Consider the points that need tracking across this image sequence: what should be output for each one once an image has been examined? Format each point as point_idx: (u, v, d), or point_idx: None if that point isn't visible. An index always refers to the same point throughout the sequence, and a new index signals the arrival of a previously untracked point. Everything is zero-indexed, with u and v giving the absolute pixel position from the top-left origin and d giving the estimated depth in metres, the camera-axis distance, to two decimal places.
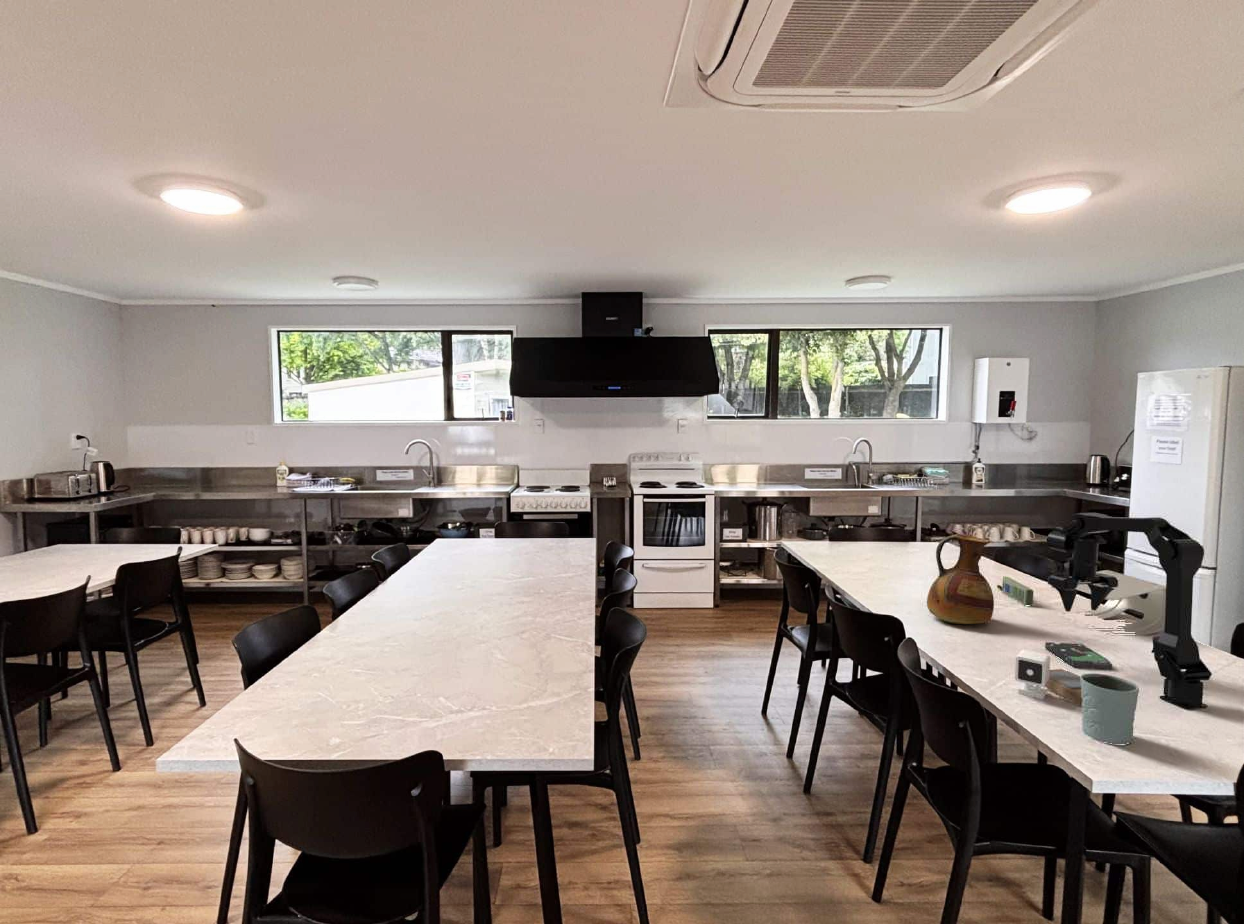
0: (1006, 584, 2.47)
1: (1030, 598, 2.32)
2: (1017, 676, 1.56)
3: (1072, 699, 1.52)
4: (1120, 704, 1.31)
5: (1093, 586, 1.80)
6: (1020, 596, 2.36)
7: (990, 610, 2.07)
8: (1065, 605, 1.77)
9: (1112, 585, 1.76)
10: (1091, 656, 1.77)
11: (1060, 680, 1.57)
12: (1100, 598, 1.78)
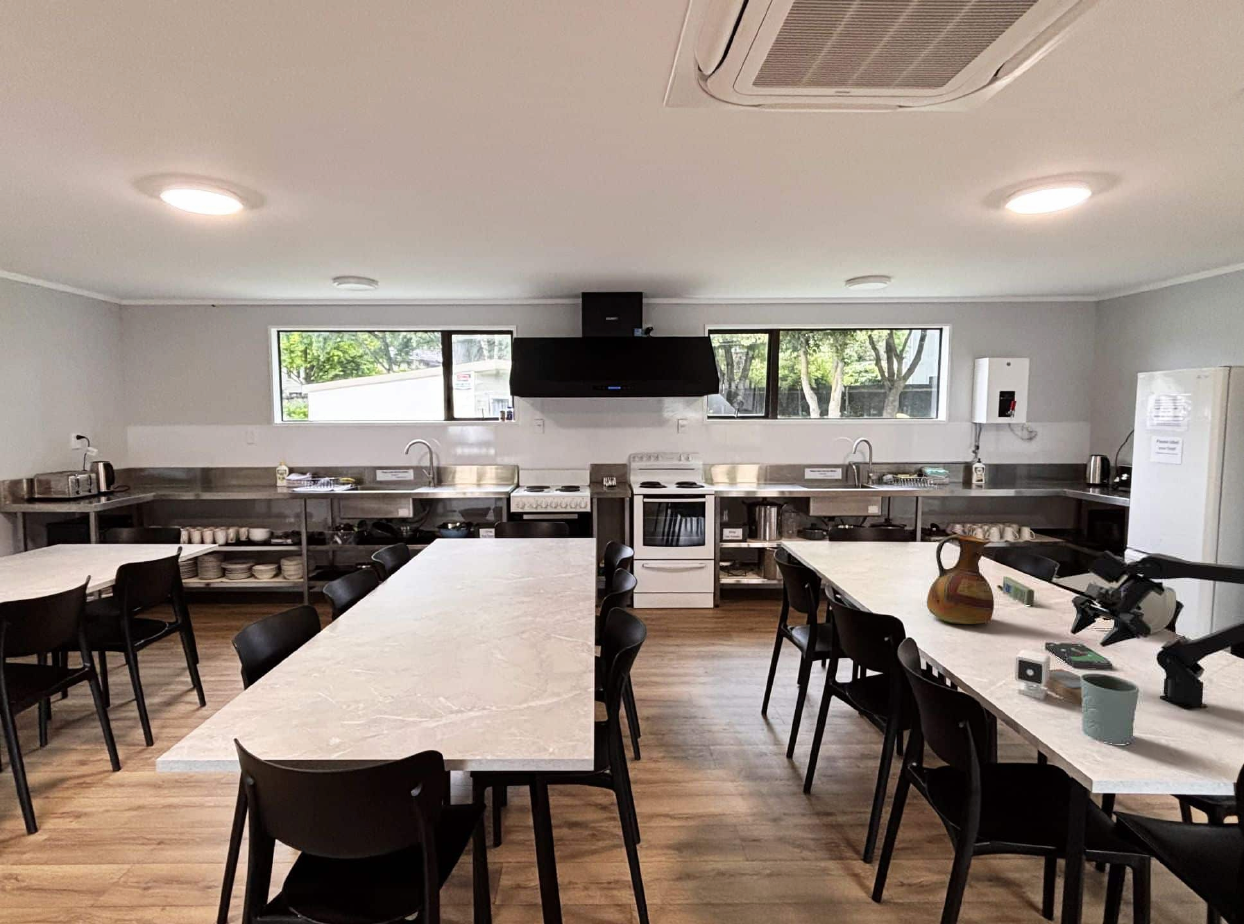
0: (1007, 584, 2.47)
1: (1031, 598, 2.32)
2: (1017, 676, 1.56)
3: (1072, 699, 1.52)
4: (1120, 704, 1.31)
5: (1085, 612, 1.63)
6: (1021, 596, 2.36)
7: (990, 610, 2.07)
8: (1108, 641, 1.53)
9: None
10: (1091, 656, 1.77)
11: (1060, 680, 1.57)
12: (1085, 626, 1.63)
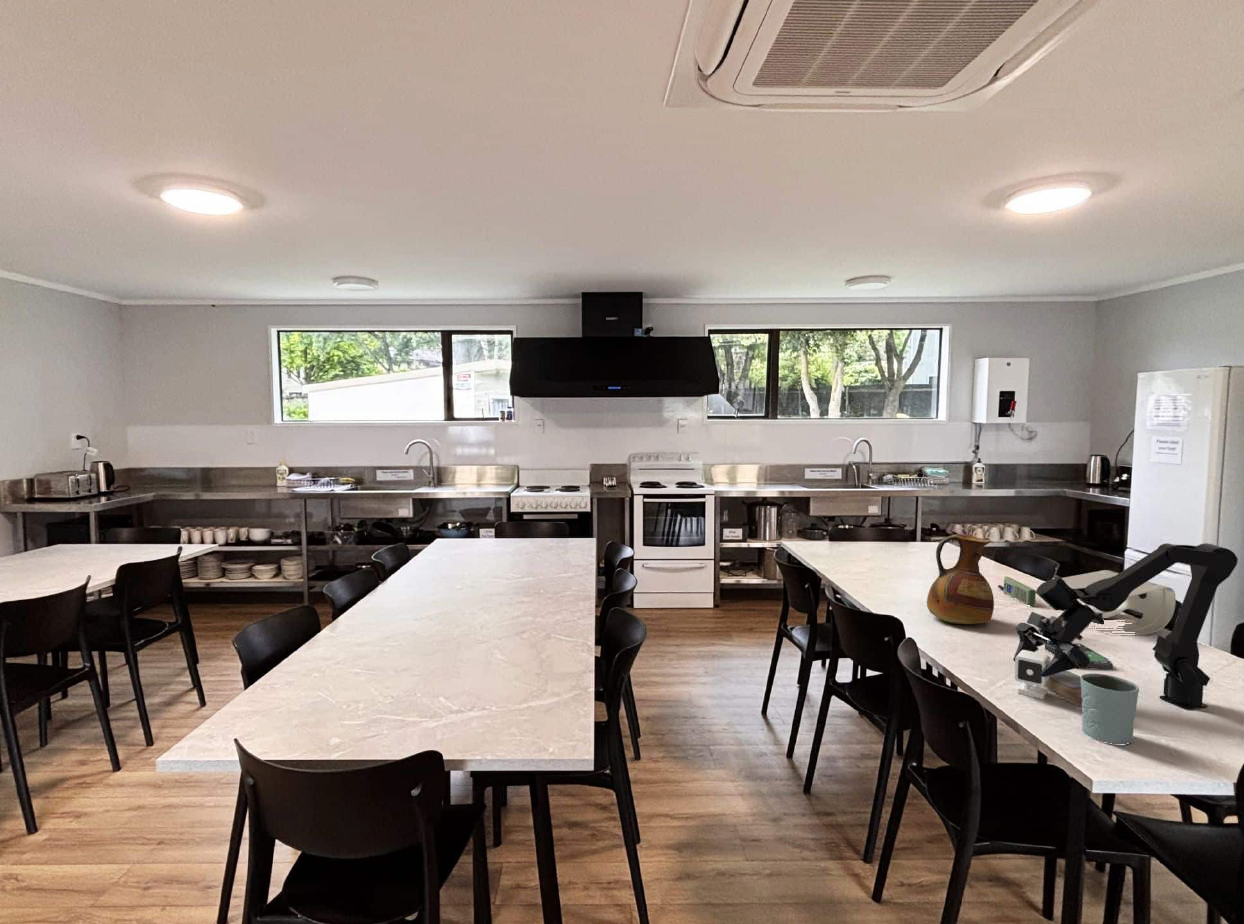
0: (1008, 584, 2.46)
1: (1033, 598, 2.32)
2: (1017, 676, 1.56)
3: (1072, 699, 1.52)
4: (1120, 704, 1.31)
5: (1028, 639, 1.62)
6: (1023, 596, 2.36)
7: (990, 610, 2.07)
8: (1048, 671, 1.52)
9: None
10: (1091, 656, 1.77)
11: (1060, 680, 1.57)
12: None
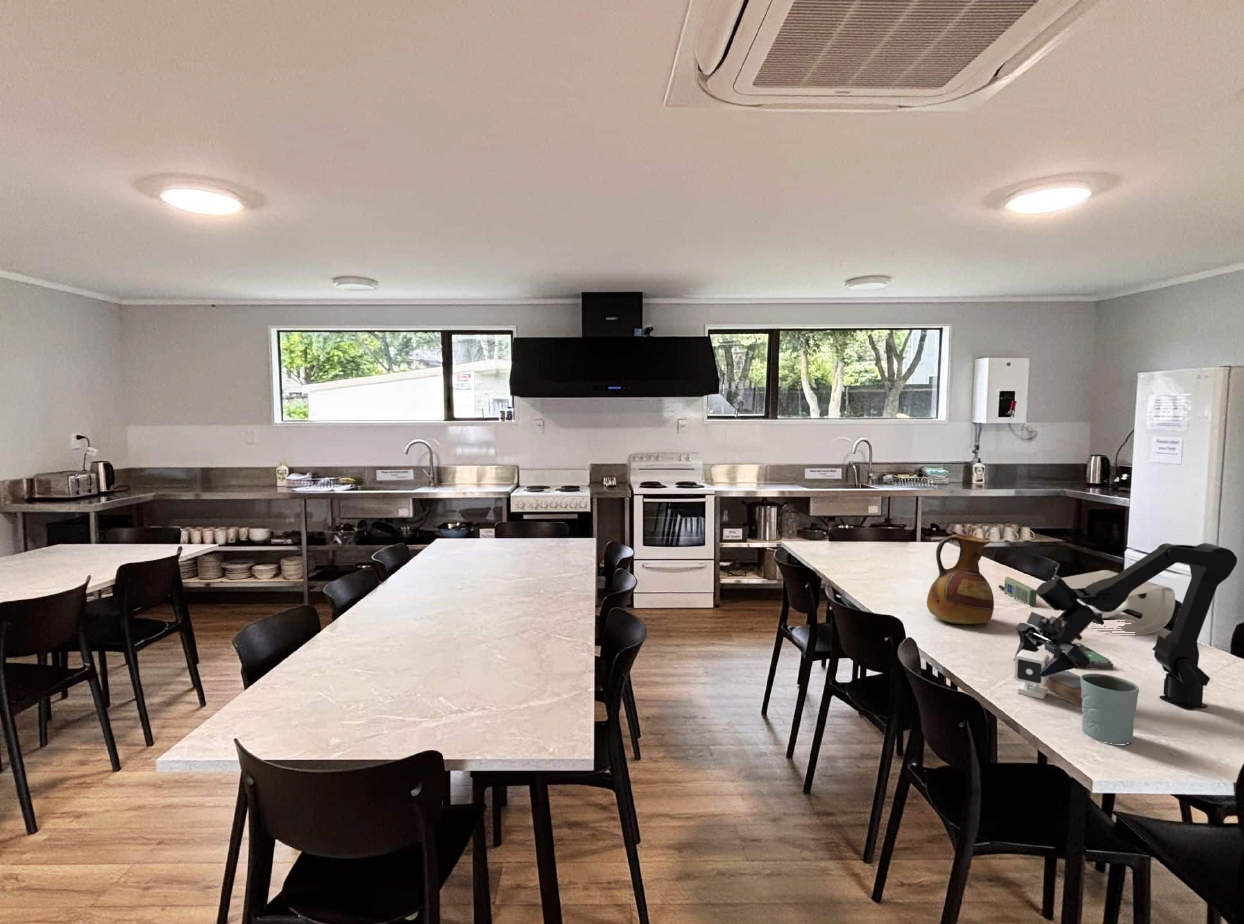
0: (1008, 584, 2.46)
1: (1034, 598, 2.32)
2: (1016, 676, 1.56)
3: (1072, 699, 1.52)
4: (1120, 704, 1.31)
5: (1029, 640, 1.62)
6: (1024, 596, 2.35)
7: (990, 610, 2.07)
8: (1047, 671, 1.52)
9: None
10: (1092, 656, 1.77)
11: (1060, 680, 1.57)
12: None
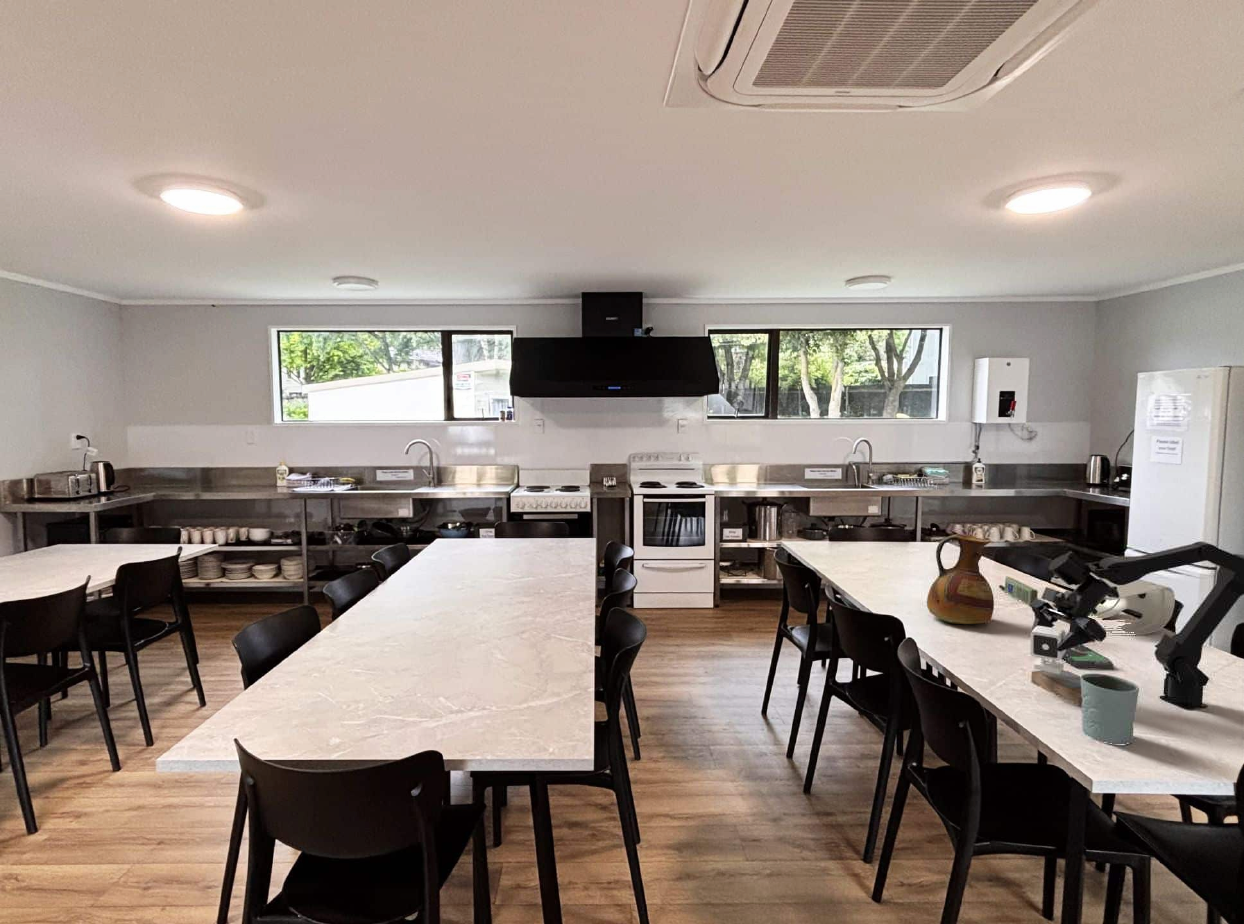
0: (1009, 584, 2.46)
1: (1035, 598, 2.32)
2: (1033, 651, 1.56)
3: (1072, 699, 1.52)
4: (1120, 704, 1.31)
5: (1044, 616, 1.62)
6: (1024, 596, 2.35)
7: (990, 610, 2.07)
8: (1064, 645, 1.52)
9: None
10: (1092, 655, 1.77)
11: (1060, 680, 1.57)
12: None
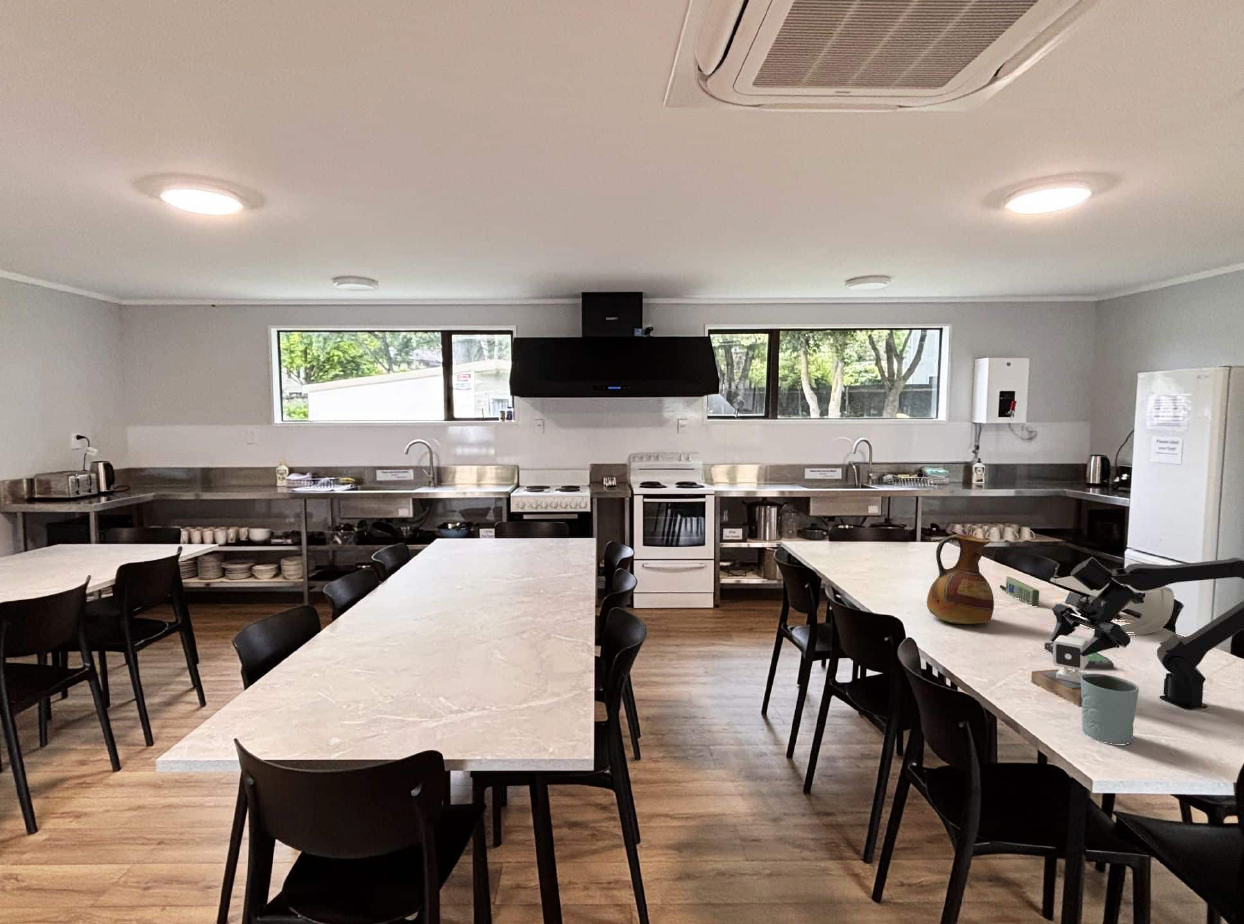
0: (1010, 584, 2.46)
1: (1036, 598, 2.31)
2: (1055, 661, 1.57)
3: (1072, 699, 1.52)
4: (1120, 704, 1.31)
5: (1065, 620, 1.62)
6: (1026, 596, 2.35)
7: (990, 610, 2.07)
8: (1088, 650, 1.52)
9: None
10: (1092, 655, 1.78)
11: (1060, 680, 1.57)
12: (1065, 635, 1.62)
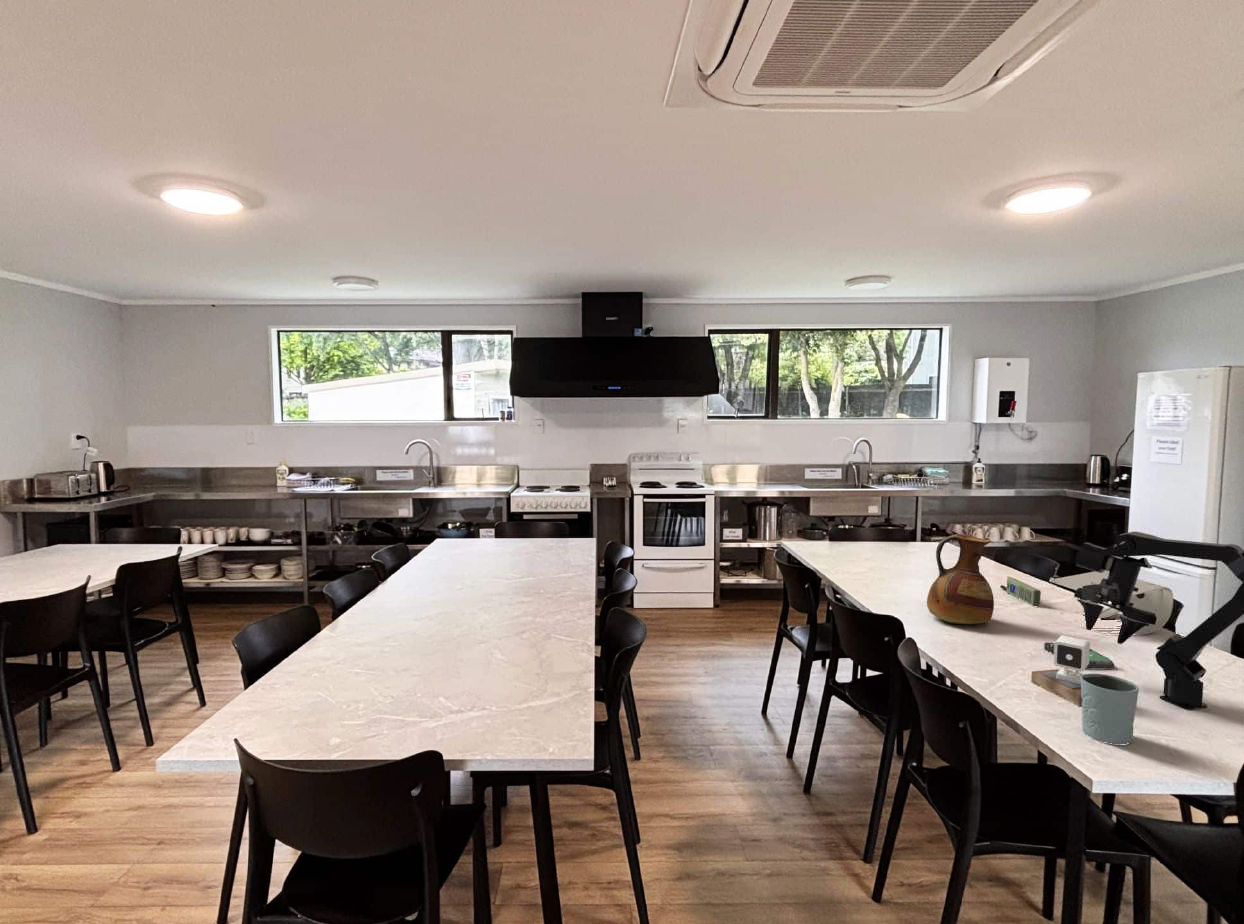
0: (1011, 584, 2.46)
1: (1038, 598, 2.31)
2: (1056, 661, 1.57)
3: (1072, 699, 1.52)
4: (1120, 704, 1.31)
5: (1091, 605, 1.67)
6: (1027, 596, 2.35)
7: (990, 610, 2.07)
8: (1123, 638, 1.57)
9: None
10: (1092, 655, 1.78)
11: (1060, 680, 1.57)
12: (1097, 617, 1.67)
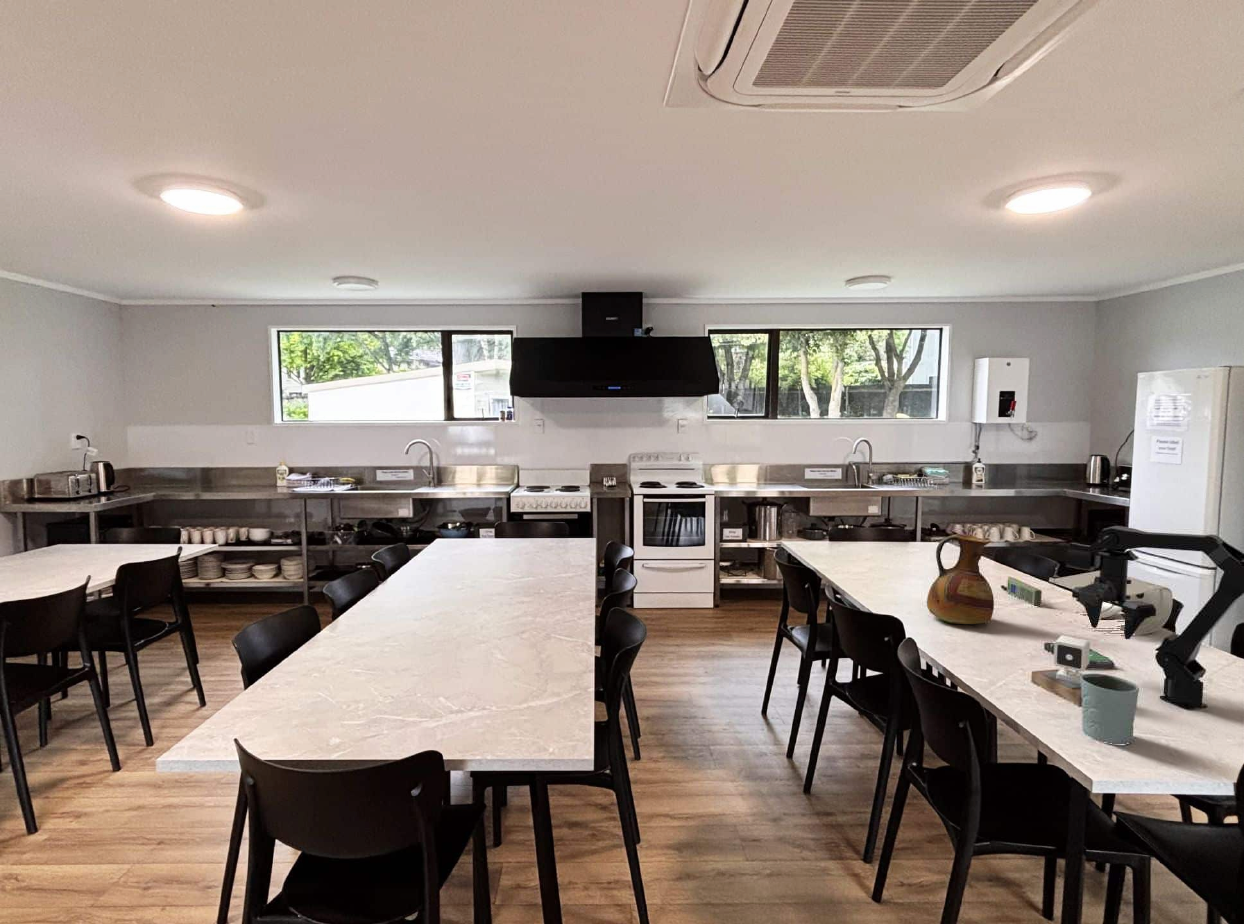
0: (1012, 584, 2.46)
1: (1039, 598, 2.31)
2: (1056, 661, 1.57)
3: (1072, 699, 1.52)
4: (1120, 704, 1.31)
5: None
6: (1028, 596, 2.35)
7: (990, 610, 2.07)
8: (1129, 633, 1.59)
9: None
10: (1092, 655, 1.78)
11: (1060, 680, 1.57)
12: (1099, 613, 1.69)
